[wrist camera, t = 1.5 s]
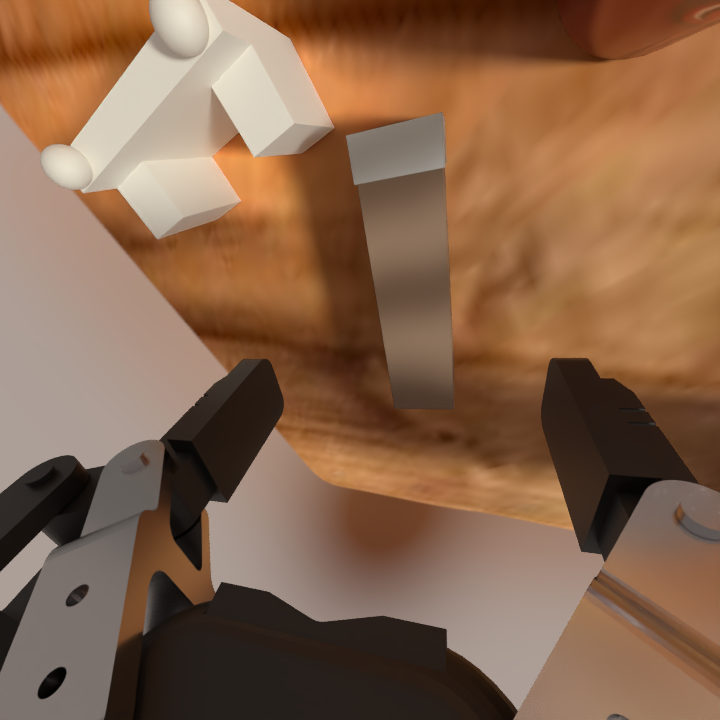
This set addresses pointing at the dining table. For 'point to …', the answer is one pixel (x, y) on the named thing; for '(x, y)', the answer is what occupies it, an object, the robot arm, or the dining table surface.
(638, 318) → the dining table surface
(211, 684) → the robot arm
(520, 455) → the dining table surface
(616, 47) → the soda can
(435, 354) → the rail
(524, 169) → the dining table surface
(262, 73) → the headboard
